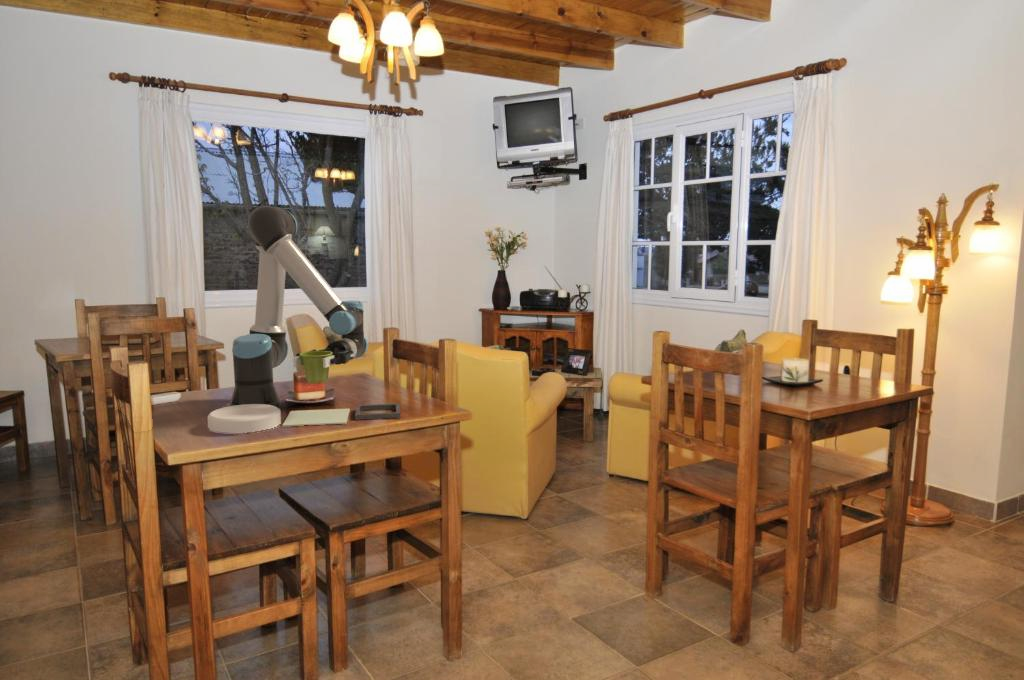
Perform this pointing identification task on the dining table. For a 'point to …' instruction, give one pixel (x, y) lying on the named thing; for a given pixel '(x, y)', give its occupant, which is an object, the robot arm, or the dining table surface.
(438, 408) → the dining table surface
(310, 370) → the plant pot
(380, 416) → the pot collar
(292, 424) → the sage mat
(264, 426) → the container
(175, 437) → the dining table surface
